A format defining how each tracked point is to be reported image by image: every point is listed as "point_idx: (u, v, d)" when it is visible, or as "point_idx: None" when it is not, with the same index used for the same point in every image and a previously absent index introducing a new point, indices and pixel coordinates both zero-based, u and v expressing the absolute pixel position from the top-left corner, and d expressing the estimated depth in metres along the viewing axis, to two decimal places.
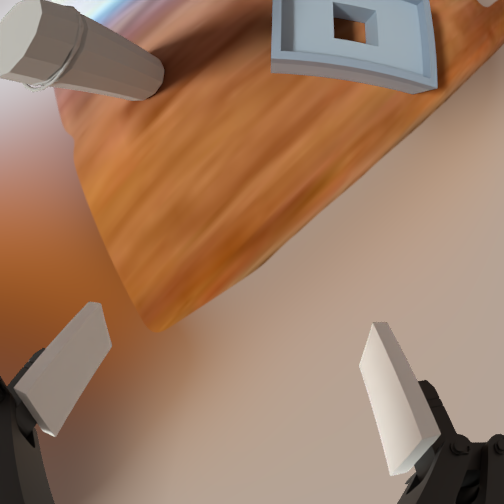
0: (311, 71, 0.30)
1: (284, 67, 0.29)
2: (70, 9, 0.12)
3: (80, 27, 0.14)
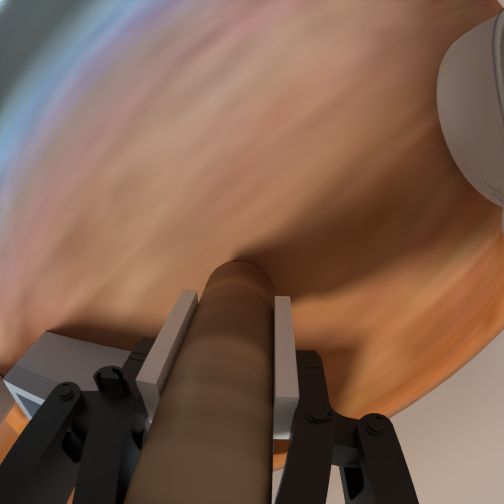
0: None
1: None
2: None
3: None
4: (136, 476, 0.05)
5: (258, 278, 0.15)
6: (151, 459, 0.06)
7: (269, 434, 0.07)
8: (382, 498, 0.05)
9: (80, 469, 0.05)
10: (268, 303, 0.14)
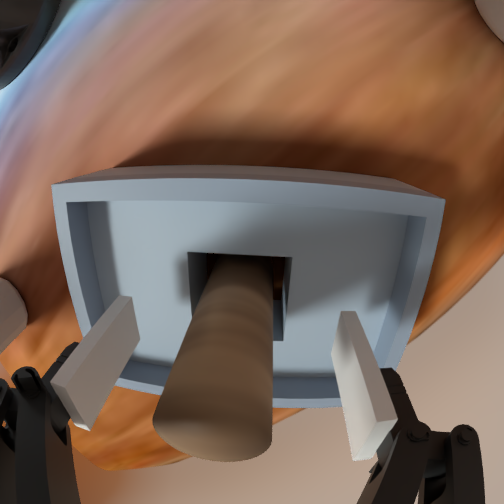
0: None
1: None
2: None
3: None
4: (171, 378, 0.09)
5: None
6: (183, 363, 0.09)
7: (270, 352, 0.11)
8: (459, 503, 0.04)
9: (16, 465, 0.04)
10: (268, 269, 0.18)
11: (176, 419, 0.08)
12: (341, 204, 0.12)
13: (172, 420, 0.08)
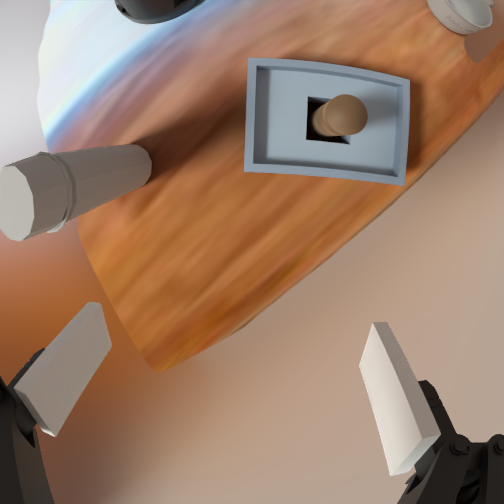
0: None
1: None
2: (55, 168, 0.20)
3: (69, 187, 0.21)
4: (329, 101, 0.25)
5: None
6: None
7: None
8: None
9: None
10: None
11: (337, 105, 0.24)
12: (370, 76, 0.28)
13: (335, 105, 0.24)
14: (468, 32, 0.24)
